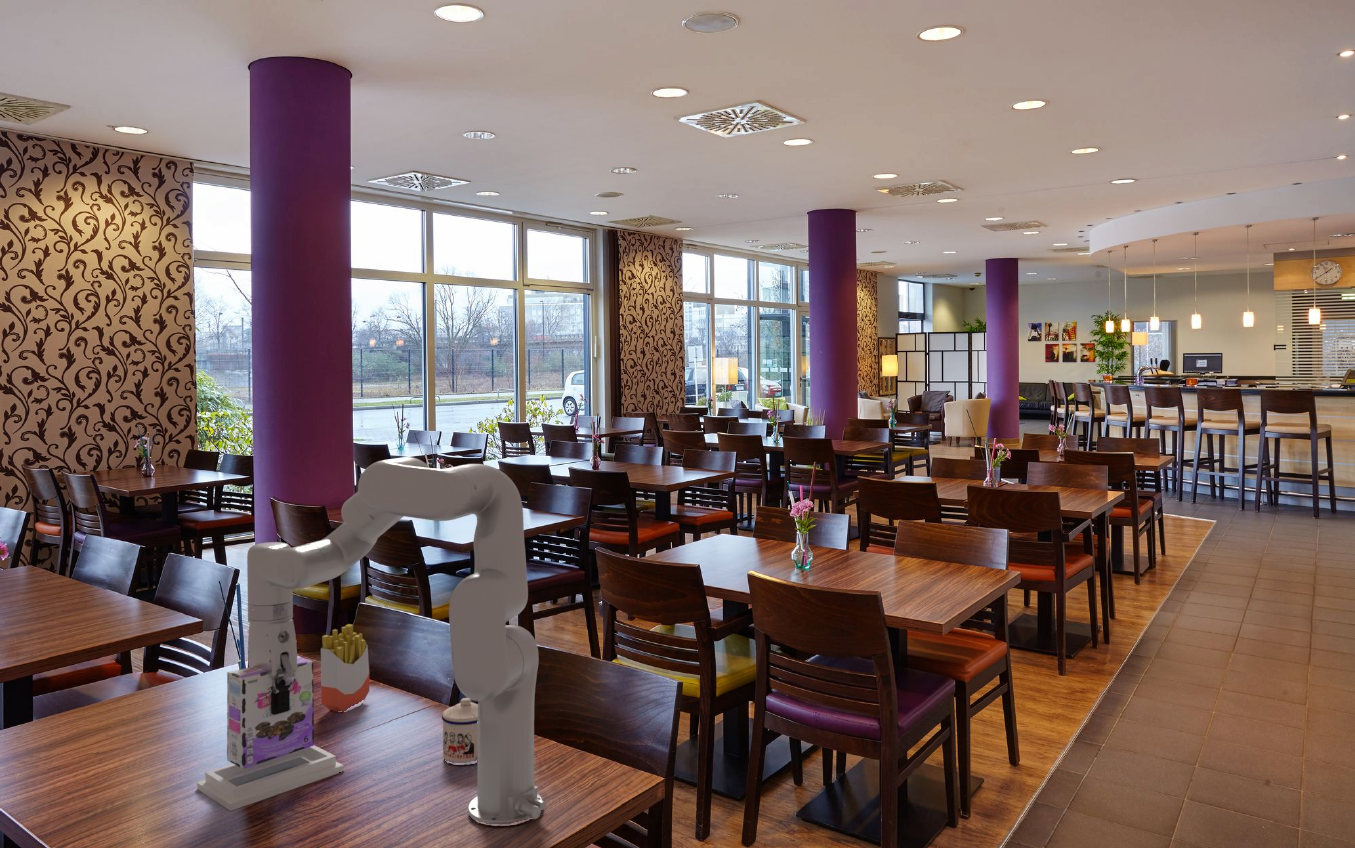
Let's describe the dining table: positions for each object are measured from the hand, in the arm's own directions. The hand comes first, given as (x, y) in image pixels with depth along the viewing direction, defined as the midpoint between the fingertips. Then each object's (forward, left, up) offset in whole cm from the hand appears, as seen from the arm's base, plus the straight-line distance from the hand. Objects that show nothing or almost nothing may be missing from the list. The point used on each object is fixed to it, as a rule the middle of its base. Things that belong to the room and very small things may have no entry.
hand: (271, 707), depth 167 cm
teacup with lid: (-20, -30, -14) cm, 39 cm away
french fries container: (+24, -29, -14) cm, 40 cm away
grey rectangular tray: (0, 0, -14) cm, 14 cm away
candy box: (0, 0, -9) cm, 9 cm away
